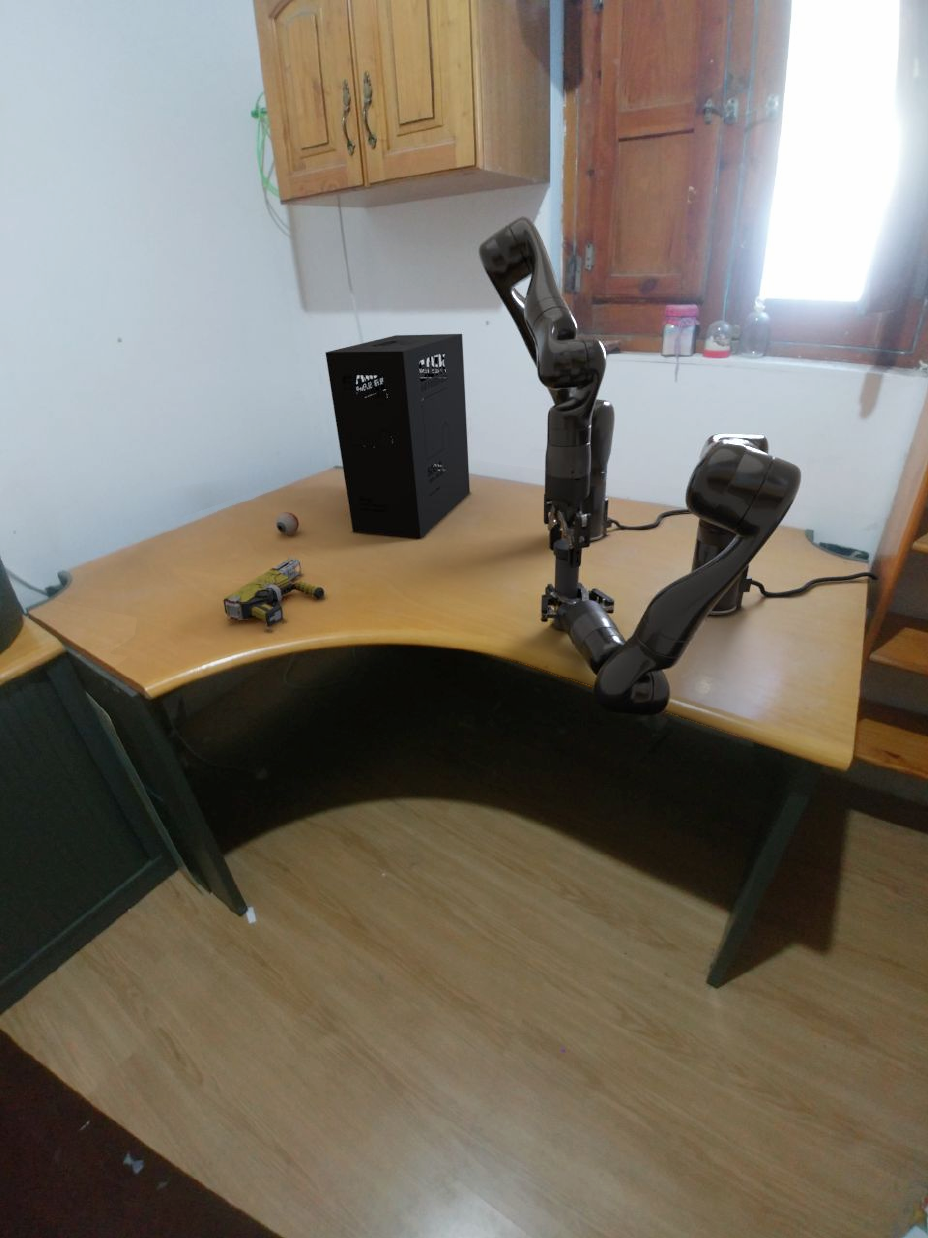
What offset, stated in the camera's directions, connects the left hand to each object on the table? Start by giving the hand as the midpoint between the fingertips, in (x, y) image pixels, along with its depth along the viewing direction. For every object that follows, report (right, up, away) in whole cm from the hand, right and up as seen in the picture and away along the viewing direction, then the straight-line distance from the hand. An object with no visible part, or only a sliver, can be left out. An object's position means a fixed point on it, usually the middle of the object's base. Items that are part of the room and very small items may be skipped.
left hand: (564, 557), depth 110 cm
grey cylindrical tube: (+1, -12, +7) cm, 14 cm away
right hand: (0, -5, +6) cm, 8 cm away
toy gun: (-57, -7, +21) cm, 61 cm away
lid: (0, +2, -1) cm, 2 cm away
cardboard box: (-33, +20, +66) cm, 77 cm away
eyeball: (-66, +12, +56) cm, 87 cm away
